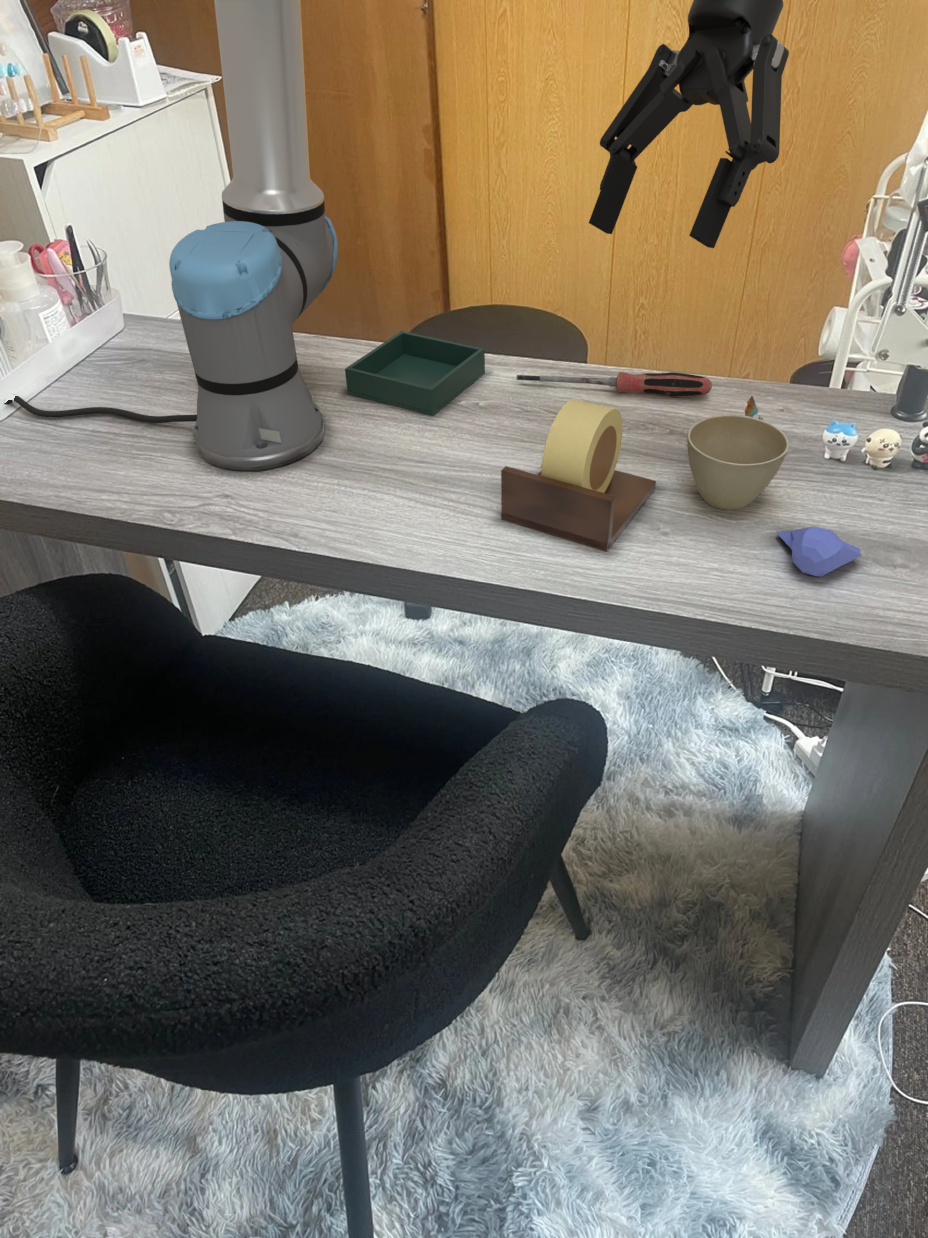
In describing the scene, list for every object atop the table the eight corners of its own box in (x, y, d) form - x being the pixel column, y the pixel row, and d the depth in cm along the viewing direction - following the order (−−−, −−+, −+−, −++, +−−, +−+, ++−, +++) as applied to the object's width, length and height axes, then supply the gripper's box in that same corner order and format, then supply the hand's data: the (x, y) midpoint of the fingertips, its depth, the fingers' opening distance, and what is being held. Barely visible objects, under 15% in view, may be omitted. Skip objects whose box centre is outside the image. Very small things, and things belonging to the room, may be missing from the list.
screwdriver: (514, 372, 114) (518, 361, 116) (514, 393, 116) (519, 381, 118) (712, 382, 108) (713, 369, 110) (710, 403, 110) (710, 390, 112)
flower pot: (666, 510, 93) (674, 450, 88) (694, 464, 100) (703, 406, 95) (762, 533, 89) (776, 472, 85) (784, 484, 96) (798, 425, 91)
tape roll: (539, 512, 92) (541, 425, 85) (580, 466, 98) (585, 382, 91) (580, 524, 90) (585, 436, 83) (619, 477, 96) (627, 392, 89)
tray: (347, 393, 116) (344, 368, 113) (403, 354, 124) (401, 330, 122) (433, 415, 110) (431, 389, 108) (485, 373, 119) (484, 348, 117)
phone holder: (501, 519, 93) (500, 470, 89) (555, 461, 101) (557, 414, 97) (607, 551, 88) (611, 500, 84) (655, 488, 96) (661, 439, 92)
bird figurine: (842, 593, 81) (875, 555, 84) (818, 539, 79) (852, 503, 82) (770, 596, 88) (803, 561, 91) (746, 547, 86) (780, 513, 89)
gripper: (892, -5, 70) (777, 265, 75) (669, 22, 88) (589, 237, 94) (845, -62, 65) (725, 230, 71) (620, -21, 84) (538, 208, 89)
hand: (647, 235), depth 82 cm, fingers open, 13 cm apart
